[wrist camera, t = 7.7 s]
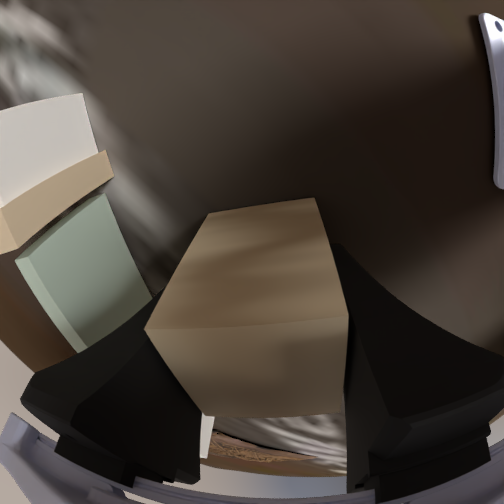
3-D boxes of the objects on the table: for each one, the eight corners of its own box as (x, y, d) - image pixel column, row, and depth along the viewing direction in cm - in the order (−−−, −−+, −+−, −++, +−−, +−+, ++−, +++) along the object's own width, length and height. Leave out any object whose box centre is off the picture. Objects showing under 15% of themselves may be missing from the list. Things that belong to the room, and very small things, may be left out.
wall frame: (89, 89, 8) (-26, 114, 3) (223, 398, 18) (211, 463, 14) (57, 108, 8) (-45, 145, 3) (198, 397, 19) (184, 460, 14)
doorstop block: (314, 197, 10) (348, 315, 4) (322, 285, 12) (340, 412, 6) (208, 213, 10) (143, 329, 5) (233, 295, 12) (205, 416, 7)
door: (105, 193, 10) (28, 256, 6) (183, 352, 15) (161, 423, 11) (80, 201, 10) (7, 262, 6) (160, 352, 15) (136, 418, 11)
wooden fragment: (117, 416, 27) (114, 422, 26) (122, 390, 21) (118, 398, 20) (287, 463, 32) (287, 469, 31) (336, 446, 26) (336, 453, 25)
